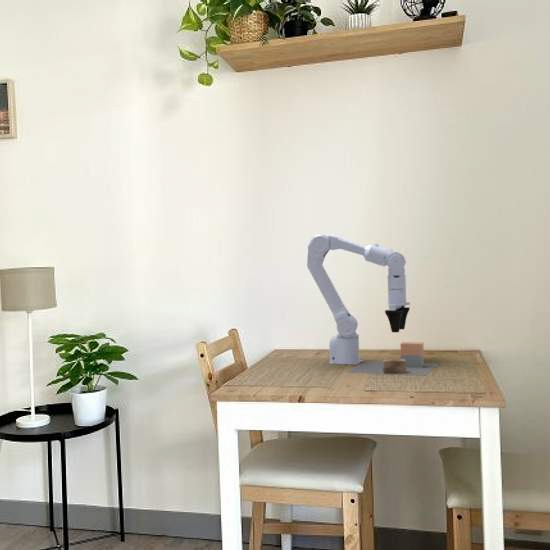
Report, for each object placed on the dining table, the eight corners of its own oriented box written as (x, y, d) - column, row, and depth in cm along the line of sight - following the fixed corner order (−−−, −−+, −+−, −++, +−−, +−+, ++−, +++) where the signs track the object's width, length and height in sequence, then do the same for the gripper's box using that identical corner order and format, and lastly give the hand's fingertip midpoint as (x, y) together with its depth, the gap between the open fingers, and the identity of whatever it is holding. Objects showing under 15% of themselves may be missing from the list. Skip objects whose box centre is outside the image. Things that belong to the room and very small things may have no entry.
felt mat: (346, 373, 189) (346, 372, 189) (364, 362, 207) (364, 361, 207) (426, 377, 179) (426, 375, 179) (438, 364, 197) (438, 363, 197)
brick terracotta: (400, 355, 194) (400, 343, 194) (403, 353, 197) (402, 342, 197) (421, 355, 191) (421, 344, 191) (423, 354, 194) (423, 342, 194)
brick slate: (401, 366, 194) (400, 355, 194) (403, 364, 197) (402, 353, 197) (421, 367, 191) (421, 355, 191) (423, 365, 194) (423, 354, 194)
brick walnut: (384, 373, 184) (383, 361, 184) (383, 371, 187) (382, 359, 187) (406, 373, 184) (405, 360, 183) (404, 371, 187) (404, 359, 187)
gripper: (404, 290, 195) (405, 333, 195) (413, 287, 208) (415, 328, 209) (382, 290, 198) (383, 333, 198) (393, 287, 211) (394, 327, 212)
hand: (398, 330), depth 204 cm, fingers open, 7 cm apart
